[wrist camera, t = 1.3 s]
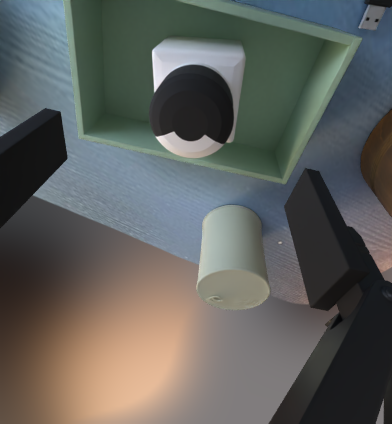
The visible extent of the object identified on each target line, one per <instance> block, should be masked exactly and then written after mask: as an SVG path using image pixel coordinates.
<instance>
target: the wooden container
mask: <svg viewBox="0 0 392 424" xmlns="http://www.w3.org/2000/svg"><path fill="white" fill-rule="evenodd" d="M361 172H362V175H363V178H364V180H365V181H366V183H367V184H368V186H369V187H370V188H371V190H372V191H373V192H374V194H375V195H376V196H377V198H378V200H379V201H380V203H381V204H382V205H383V207H384V208H385V209H386V211H387V212H388V213H389V215H390V216H391V217H392V109H391V110H390V111H389V112H388V113H387V114H386V115H385V116H384V117H383V118H382V120H381V121H380V122H379V123H378V124H377V125H376V127H375V128H374V129H373V131H372V133H371V134H370V136H369V137H368V139H367V141H366V143H365V146H364V148H363V151H362V155H361Z"/></svg>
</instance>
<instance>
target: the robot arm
mask: <svg viewBox="0 0 392 424" xmlns="http://www.w3.org/2000/svg"><path fill="white" fill-rule="evenodd" d="M67 159H68V158H67V151H66V144H65V138H64V131H63V125H62V118H61V112H60V111H55V110H51V109H47V108H45V109H43V110H42V111H40V112H39V113H37V114H35V115H34V116H32V117H31V118H29V119H28V120H26V121H24V122H23V123H21V124H20V125H18V126H17V127H15V128H13V129H12V130H10V131H9V132H7V133H6V134H4V135H2V136H1V137H0V228H1V227H2V226H3V225H4V224H5V223H6V222H7V221H8V220H9V219H10V218H11V217H12V216H13V215H14V214H15V213H16V212H17V211H18V210H19V209H20V207H21V206H22V205H23V204H24V203H25V202H26V201H27V200H28V199H29V198H30V197H31V196H32V195H33V194H34V193H35V192H36V191H37V190H38V189H39V188H40V187H41V186H42V185H43V184H44V183H45V182H46V181H47V179H48V178H49V177H50V176H51V175H52V174H53V173H54V172H55V171H56V170H57V169H58V168H59V167H60V166H61V165H62V164H63V163H64V162H65V161H66V160H67ZM284 208H285V212H286V215H287V219H288V223H289V227H290V231H291V235H292V238H293V242H294V246H295V250H296V254H297V258H298V261H299V265H300V269H301V273H302V277H303V281H304V284H305V288H306V292H307V296H308V300H309V304H310V307H311V308H316V309H321V310H326V311H328V310H330V309H331V308H332V307H333V306H334V305H335V304H337V306H338V309H339V313H338V314H337V315H336V316H334V317H333V318H332V319H331V320H330V321H329V322H327V323H326V324H325V325H326V326H327V327H328V328H327V329H326V332H325V333H324V335H323V336H322V338H321V339H320V341H319V343H318V344H317V346H316V348H315V349H314V351H313V352H312V354H311V356H310V357H309V359H308V360H307V362H306V364H305V365H304V367H303V369H302V370H301V372H300V374H299V375H298V377H297V378H296V380H295V382H294V383H293V385H292V387H291V388H290V390H289V391H288V393H287V395H286V396H285V398H284V400H283V401H282V403H281V404H280V406H279V408H278V409H277V411H276V413H275V414H274V416H273V417H272V419H271V421H270V422H269V424H376V421H377V417H378V414H379V411H380V408H381V405H382V401H383V399H384V424H392V283H391V282H389V281H385V280H384V278H383V276H382V274H381V273H380V271H379V269H378V267H377V265H376V263H375V261H374V260H373V258H372V256H371V255H370V254H369V253H370V252H369V250H368V249H367V247H365V246H366V245H365V243H364V241H363V239H362V237H361V236H360V235H359V234H358V233H357V232H356V231H355V230H354V229H353V228H352V227H349V226H347V225H346V223H345V221H344V220H343V218H342V216H341V214H340V212H339V210H338V208H337V206H336V204H335V202H334V200H333V198H332V196H331V194H330V192H329V190H328V188H327V186H326V184H325V182H324V180H323V178H322V176H321V174H320V172H319V171H316V170H312V169H308V168H305V170H304V172H303V173H302V175H301V177H300V179H299V181H298V182H297V184H296V186H295V188H294V190H293V191H292V193H291V195H290V197H289V198H288V200H287V202H286V204H285V206H284Z"/></svg>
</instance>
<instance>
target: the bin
mask: <svg viewBox="0 0 392 424" xmlns="http://www.w3.org/2000/svg"><path fill="white" fill-rule="evenodd" d="M63 4H64V12H65V21H66V30H67V39H68V47H69V56H70V65H71V74H72V82H73V91H74V100H75V109H76V118H77V126H78V135H79V139H83V140H88V141H92V142H97V143H101V144H106V145H110V146H115V147H119V148H124V149H128V150H133V151H137V152H142V153H146V154H151V155H155V156H160V157H164V158H169V159H173V160H178V161H182V162H187V163H191V164H196V165H200V166H205V167H209V168H214V169H218V170H223V171H227V172H232V173H236V174H241V175H245V176H250V177H254V178H259V179H263V180H268V181H272V182H277V183H281V184H286V183H287V181H288V179H289V177H290V175H291V173H292V171H293V170H294V168H295V166H296V164H297V162H298V160H299V158H300V156H301V155H302V153H303V151H304V149H305V147H306V145H307V143H308V141H309V139H310V138H311V136H312V134H313V132H314V130H315V128H316V126H317V124H318V122H319V121H320V119H321V117H322V115H323V113H324V111H325V109H326V107H327V105H328V104H329V102H330V100H331V98H332V96H333V94H334V92H335V90H336V88H337V87H338V85H339V83H340V81H341V79H342V77H343V75H344V73H345V71H346V70H347V68H348V66H349V64H350V62H351V60H352V58H353V56H354V54H355V53H356V51H357V49H358V47H359V45H360V43H361V41H362V39H363V38H361V37H358V36H355V35H353V34H350V33H347V32H344V31H342V30H339V29H336V28H333V27H329V26H325V25H322V24H318V23H314V22H310V21H306V20H303V19H299V18H295V17H291V16H287V15H284V14H280V13H276V12H272V11H268V10H265V9H261V8H257V7H253V6H250V5H246V4H242V3H238V2H234V1H231V0H63ZM168 36H182V37H198V38H213V39H229V40H240V41H241V42H242V45H243V49H244V53H245V56H246V61H245V67H244V74H243V81H242V88H241V94H240V101H239V108H238V115H237V122H236V128H235V135H234V140H233V141H232V142H231V143H227V142H226V143H225V144H224V145H223V146H222V147H221V148H220V149H219V150H217V151H216V152H214V153H213V154H211V155H208V156H205V157H201V158H186V157H182V156H179V155H176V154H174V153H172V152H170V151H169V150H167V149H166V148H165V147H164V146H163V145H162V144H161V143H160V142H159V141H158V140H157V138H156V137H155V135H154V133H153V131H152V128H151V125H150V120H149V107H150V102H151V100H152V97H153V95H154V77H153V60H152V50H153V49H154V48H155V47H156V46H157V45H159V44H160V43H161V42H162V41H163V40H165V39H166V38H167V37H168Z"/></svg>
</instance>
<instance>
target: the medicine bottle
mask: <svg viewBox="0 0 392 424" xmlns="http://www.w3.org/2000/svg"><path fill="white" fill-rule="evenodd" d="M152 60H153V77H154V95H153V97H152V100H151V102H150V107H149V120H150V125H151V128H152V131H153V133H154V135H155V137H156V138H157V140H158V141H159V142H160V143H161V144H162V145H163V146H164V147H165V148H166V149H167V150H169V151H170V152H172V153H174V154H176V155H179V156H182V157H186V158H201V157H205V156H208V155H211V154H213V153H214V152H216V151H217V150H219V149H220V148H221V147H222V146H223V145H224V144H225V143H226V142H227V143H231V142H232V141H233V140H234V135H235V128H236V122H237V115H238V108H239V101H240V94H241V88H242V81H243V74H244V67H245V61H246V56H245V53H244V49H243V45H242V42H241V41H240V40H229V39H213V38H198V37H182V36H168V37H167V38H166V39H165V40H163V41H162V42H161V43H160V44H159V45H157V46H156V47H155V48H154V49H153V50H152Z"/></svg>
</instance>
